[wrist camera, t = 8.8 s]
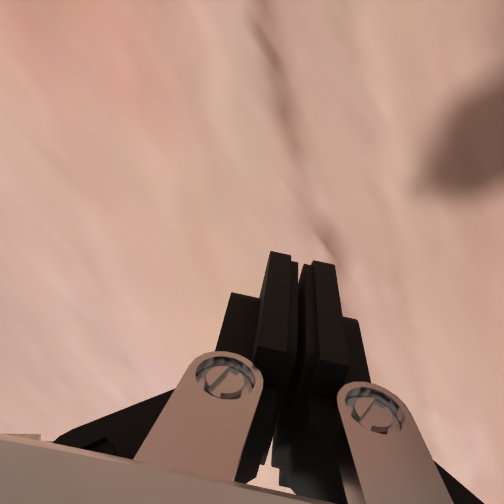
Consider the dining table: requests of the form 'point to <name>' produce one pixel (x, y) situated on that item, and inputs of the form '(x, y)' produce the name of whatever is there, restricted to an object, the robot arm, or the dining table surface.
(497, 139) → the dining table surface
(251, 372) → the robot arm
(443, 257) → the dining table surface
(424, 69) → the dining table surface
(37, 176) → the dining table surface
